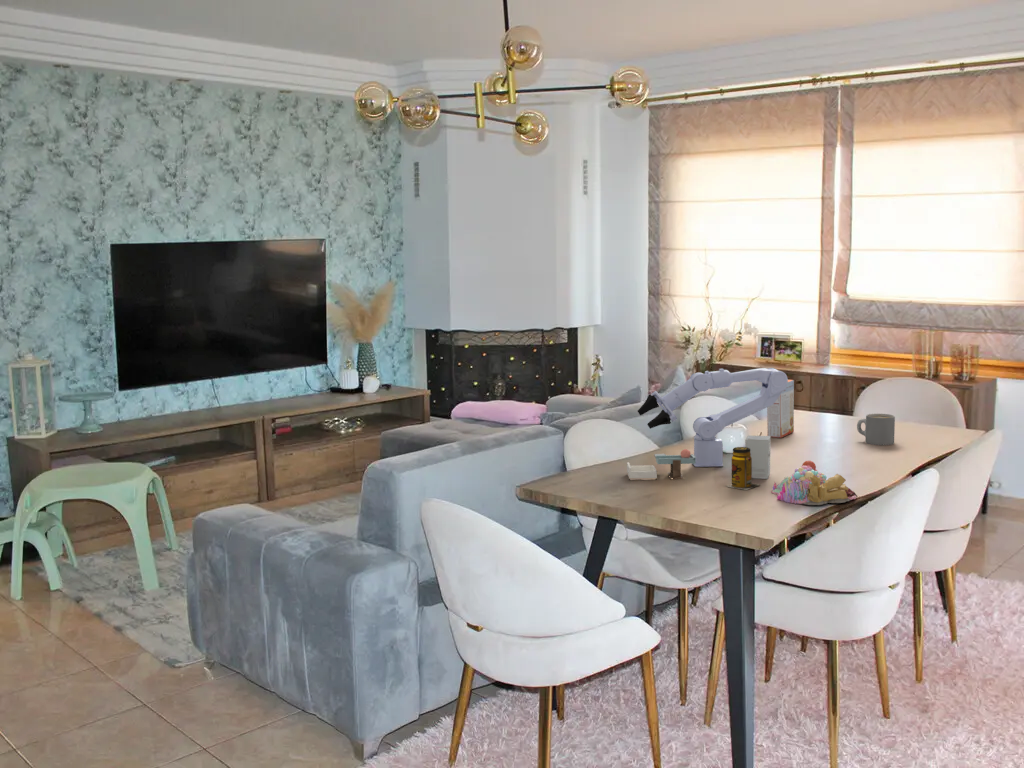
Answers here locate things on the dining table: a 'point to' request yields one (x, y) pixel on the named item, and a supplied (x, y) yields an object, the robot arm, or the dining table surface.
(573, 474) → the dining table surface
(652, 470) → the dish
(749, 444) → the supplement box
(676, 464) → the fulcrum
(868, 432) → the coffee mug
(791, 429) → the cracker box
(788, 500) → the candy landscape model
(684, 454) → the ball
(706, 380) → the robot arm
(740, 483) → the condiment
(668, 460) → the lever
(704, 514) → the dining table surface
